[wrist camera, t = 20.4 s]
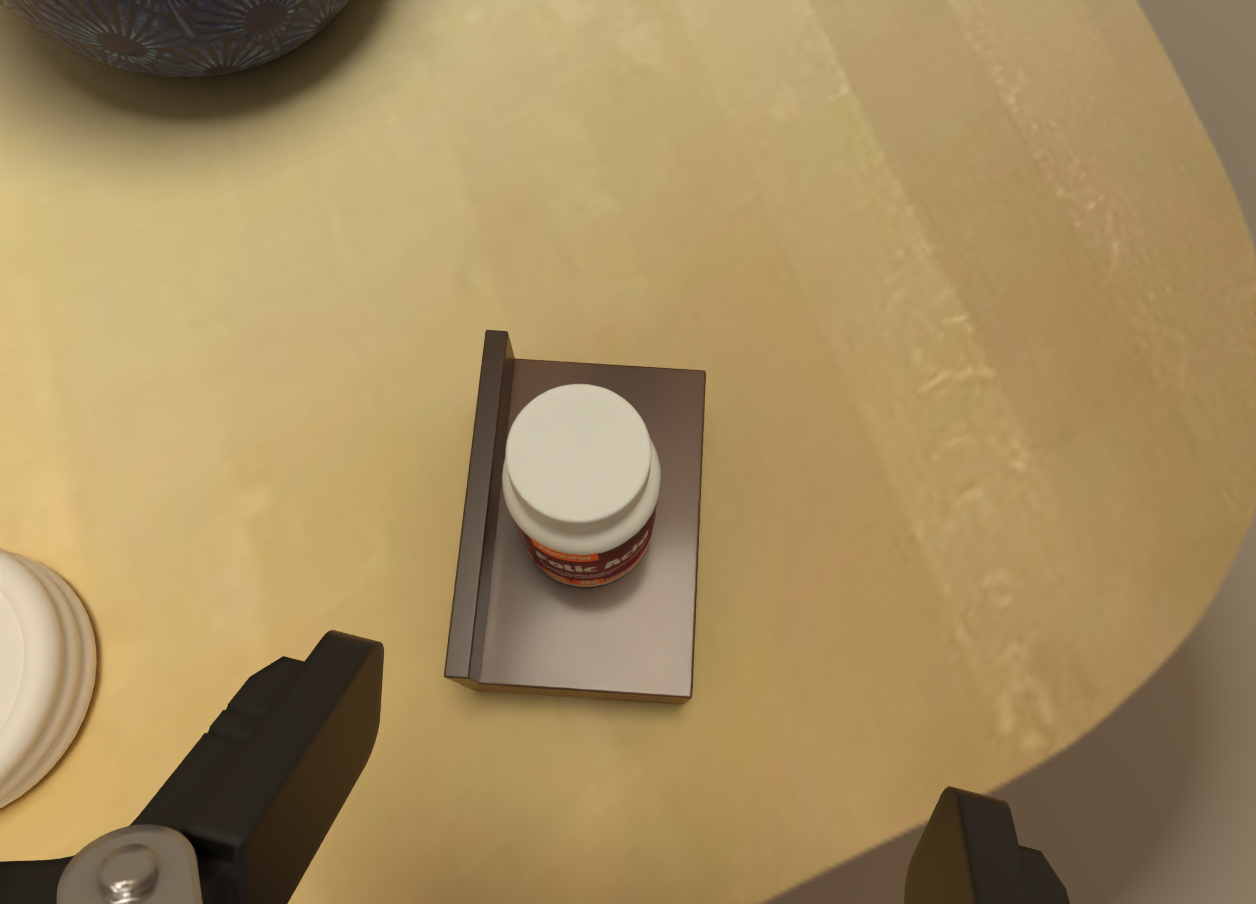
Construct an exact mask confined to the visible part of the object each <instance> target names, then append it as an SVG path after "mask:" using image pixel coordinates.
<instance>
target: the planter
mask: <svg viewBox="0 0 1256 904" xmlns="http://www.w3.org/2000/svg"><path fill="white" fill-rule="evenodd" d="M348 1H349V0H0V4H1V5H2V6H4V7H5V8H6V9H7V10H9V11H10V12H11V13H13V14H14V15H15V16H16V17H18V18H19V19H21V20H22V21H24V22H25V23H27V24H28V25H30V26H31V27H33V28H34V29H36V30H37V31H39V32H40V33H42V34H44V35H45V36H47V37H49V38H50V39H52V40H54V41H56V42H57V43H59V44H61V45H63V46H65V47H66V48H69V49H71V50H73V51H75V52H77V53H79V54H81V55H83V56H86V57H88V58H90V59H93V60H95V61H98V62H100V63H103V64H106V65H109V66H112V67H115V68H119V69H123V70H127V71H131V72H137V73H144V74H151V75H157V76H167V77H203V76H214V75H222V74H228V73H233V72H238V71H242V70H246V69H249V68H253V67H256V66H259V65H262V64H264V63H267V62H269V61H272V60H274V59H276V58H278V57H280V56H282V55H285V54H287V53H289V52H290V51H292V50H294V49H295V48H297V47H299V46H300V45H302V44H303V43H305V42H306V41H307V40H309V39H310V38H312V37H313V36H314V35H316V34H317V33H318V32H319V31H320V30H321V29H322V28H323V27H325V26H326V25H327V24H328V23H329V22H330V21H331V20H332V19H333V18H334V17H335V16H336V15H337V14H338V13H339V12H340V11H341V10H342V9H343V8H344V6H345V5H346V4H347V2H348Z"/></svg>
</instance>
